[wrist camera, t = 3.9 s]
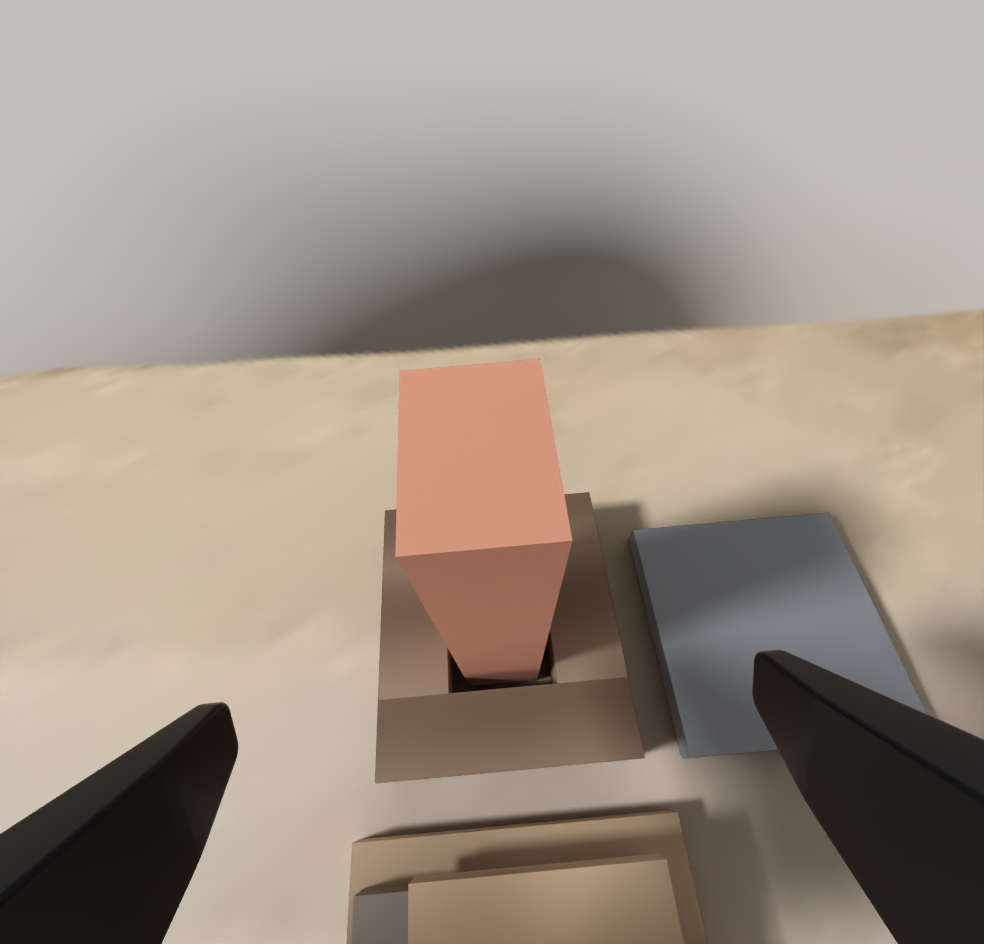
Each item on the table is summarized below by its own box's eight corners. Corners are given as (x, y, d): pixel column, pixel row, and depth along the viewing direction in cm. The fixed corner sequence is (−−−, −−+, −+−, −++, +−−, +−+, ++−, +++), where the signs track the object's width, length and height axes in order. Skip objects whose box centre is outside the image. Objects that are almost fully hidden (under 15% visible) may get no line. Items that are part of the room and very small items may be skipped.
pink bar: (537, 679, 18) (572, 540, 7) (469, 686, 18) (395, 556, 7) (526, 587, 20) (539, 358, 9) (464, 592, 20) (400, 371, 9)
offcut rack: (760, 1220, 12) (828, 1349, 9) (341, 1262, 12) (291, 1405, 9) (604, 517, 21) (617, 483, 19) (375, 538, 21) (355, 507, 19)
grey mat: (915, 736, 17) (937, 734, 16) (681, 758, 17) (690, 758, 16) (816, 522, 21) (829, 512, 20) (628, 539, 21) (633, 530, 20)
